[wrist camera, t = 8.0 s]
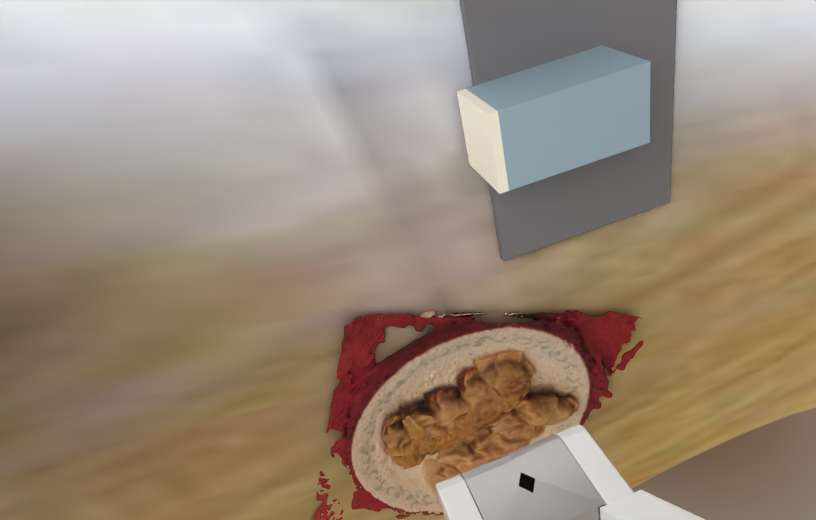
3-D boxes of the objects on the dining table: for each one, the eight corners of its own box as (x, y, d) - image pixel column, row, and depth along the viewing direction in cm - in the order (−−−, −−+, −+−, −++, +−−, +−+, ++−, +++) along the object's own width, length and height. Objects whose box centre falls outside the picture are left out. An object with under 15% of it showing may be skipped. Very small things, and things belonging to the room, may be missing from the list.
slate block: (499, 193, 35) (649, 142, 36) (487, 114, 32) (650, 61, 33) (469, 164, 39) (604, 119, 40) (456, 91, 36) (602, 45, 37)
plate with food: (342, 304, 44) (350, 332, 41) (632, 307, 51) (656, 331, 48) (309, 516, 55) (314, 550, 52) (552, 493, 62) (567, 521, 60)
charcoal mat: (500, 257, 44) (503, 261, 44) (448, -68, 32) (452, -68, 32) (665, 198, 46) (670, 201, 45) (674, -132, 34) (681, -133, 33)
